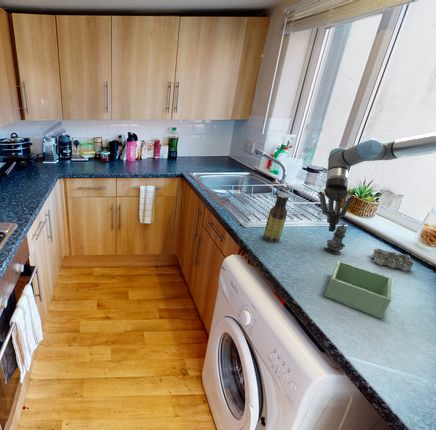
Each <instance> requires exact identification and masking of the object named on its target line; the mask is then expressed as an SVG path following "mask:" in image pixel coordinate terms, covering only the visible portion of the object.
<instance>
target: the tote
mask: <svg viewBox="0 0 436 430" xmlns="http://www.w3.org/2000/svg"><path fill="white" fill-rule="evenodd" d="M392 280H393V278H392V277H390V276H387V275H384V274H381V273H378V272H375V271H372V270H368V269H365V268H362V267H360V266H356V265H353V264H350V263H347V262H344V261H341V260H337V261H336V264H335V267H334V269H333V271H332V274H331V276H330V279H329V282H328V283H327V287H326V290H325V293H324V295H323V296H324V297H326V298H329V299H330V300H331V299H332V300H334V301H336V302H338V303H342V304H344V305H346V306H349V307H351V308H354V309H356V310H359V311H361V312H364V313H367V314H369V315H371V316H374V317H376V318H379V319H382V317H383V316H384V314H385V312H386V310H387V309H388V307H389V305H390V303H391V301H392V286H393V285H392V284H393V281H392Z"/></svg>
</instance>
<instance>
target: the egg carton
mask: <svg viewBox="0 0 436 430" xmlns="http://www.w3.org/2000/svg"><path fill="white" fill-rule="evenodd" d="M371 258H372V259H373V262H374V263H376V264H378V265H379V266H383V265H384V266H388V267H389V268H392V269H395V268H396V269H400V270H401V271H404V272H408V271H411V269H412V267H415V265H414V262H413V259H412V258H411V255H410V254H405V253H404V254H401V253H397V252H394V251H389V250H385V249H382V248H373V253H372V255H371Z"/></svg>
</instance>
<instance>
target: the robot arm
mask: <svg viewBox="0 0 436 430" xmlns="http://www.w3.org/2000/svg"><path fill="white" fill-rule="evenodd" d="M432 154H436V132H433V133H428V134H422V135H416V136H412V137H405V138H401V139H394V140H388V141H382V142H381V141H379V140H378V139H376V138H369V139H366V140H363V141H360V142H359V143H357V144H356V145H353V146H350V147H349V148H348V147H344V146H343V147H342V146H339V147H335V148H333V149H332V150H331V151H330V152H329V155H328V158H327V173H326V181H325V188H324V190H323V191H319V192H318V193H316V194H317V197H318V199H319V202H320V207H321V213H322V215H325V216H326V223H327V224H328V232H332V233H333V232H334V231H335V232H336V230H337V225H338V224H339V223H340V218H343V217H345V216H346V214H347V212H348V209H349V207H350V204H351V202H352V201H353V200H354V199H355V196H354V195H351V194H349V191H348V186H349V185H348V183H349V182H348V181H349V172H350V167H353V166H356V165H358V164H361V163H364V162H376V161H392V160H396V159H403V158H409V157H411V158H412V157H418V156H426V155H432ZM326 197H327V200H328V201H327V200H326ZM344 199H345V202H344V204H343V206H342V201H343V200H344ZM334 204H335V205H334ZM333 213H334V214H333Z"/></svg>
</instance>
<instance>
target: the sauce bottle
mask: <svg viewBox="0 0 436 430" xmlns="http://www.w3.org/2000/svg"><path fill="white" fill-rule="evenodd" d="M288 201H289V195H288V194H284V193H278V194H277V195H276V201H275V204H274V205H273V206H272V207H271V208H270V210H269V213H268V217H267V220H266V224H265V227H264V231H263V239H265V240H266V241H267V242H271V243H278V242H279V241H280V238H281V236H282V234H283V230H284V226H285V223H286V220H287V215H288V210H287V208H286V206H287V204H288V203H287V202H288Z"/></svg>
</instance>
